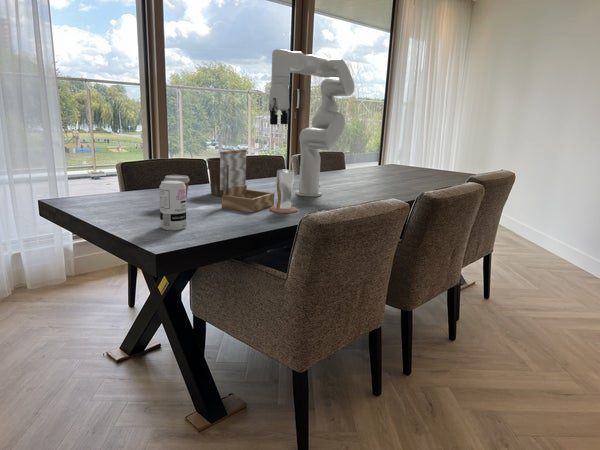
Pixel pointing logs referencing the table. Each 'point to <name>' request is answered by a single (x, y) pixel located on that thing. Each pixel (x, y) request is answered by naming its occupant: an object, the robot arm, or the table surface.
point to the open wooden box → (239, 184)
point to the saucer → (283, 210)
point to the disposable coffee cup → (179, 179)
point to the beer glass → (284, 188)
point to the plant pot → (215, 176)
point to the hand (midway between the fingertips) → (279, 124)
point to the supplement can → (172, 205)
